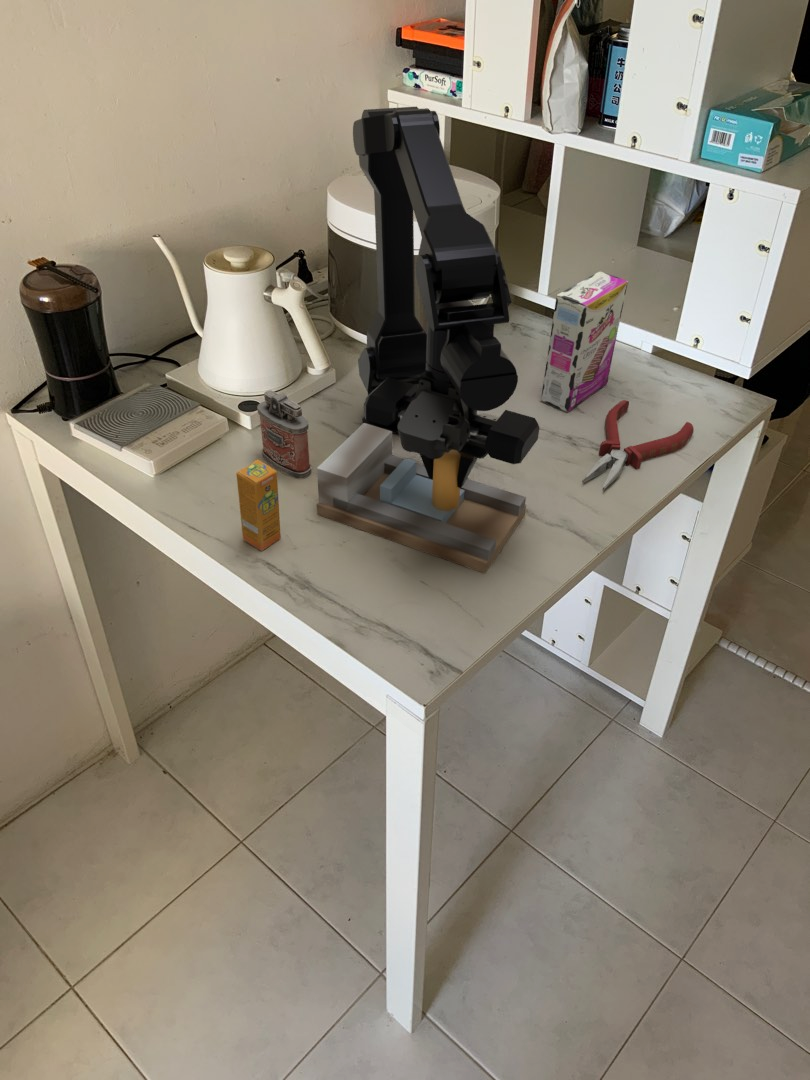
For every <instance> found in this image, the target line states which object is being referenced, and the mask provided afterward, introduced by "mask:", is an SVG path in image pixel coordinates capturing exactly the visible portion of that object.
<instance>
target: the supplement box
mask: <svg viewBox="0 0 810 1080" xmlns="http://www.w3.org/2000/svg"><path fill="white" fill-rule="evenodd" d="M235 476H236V481H237V482H236V483H237V491H238V503H239V512H240V513H239V514H240V520H241V522H240V523H241V532H242V539H243V540H244V541H245V542H246V543H248V544H249V545H251V546H253V547H254V548H255V549H258V550H260V551H264V550H266V549H267V548H269V547H271V545H273V544H274V543H276V542H277V541H278V540H280V539H281V520H280V505H279V502H280V501H279V488H278V470H277V469H275V468H274V467H271V465H269V464H267V463H265V462H263V461H261V460H260V459H256V460H254V461H253V463H250V464H249V465H247V466H245V467H244V468H240V469H238V470H237V471H236V475H235Z"/></svg>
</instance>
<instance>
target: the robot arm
mask: <svg viewBox="0 0 810 1080" xmlns="http://www.w3.org/2000/svg"><path fill="white" fill-rule="evenodd" d="M440 133H441V127H440V119H439V115H438V113H437V111H435V110H430V108H427V107H426V108H419V107H418V106H407V107H406V106H405V107H404V106H401V107H388V108H387V107H385V108H372V109H363V111H362V114H361V118H359V119H357V120H355V121H354V122H353V125H352V141H353V148H354V152H355V154H356V156H358V163H359V167H360V169H361V171H362V173H363V175H364V176H365V177H366V179H367V181H368V182H369V184H370V185H371V187H372V189H373V195H374V196H373V197H374V217H375V218H374V219H375V220H374V221H375V223H374V226H375V246H376V247H375V249H376V255H375V256H376V277H377V280H376V281H377V304H378V305H377V312H376V314H375V316H374V317H373V319H372V321H371V323H370V324H369V326H368V328H367V329H366V347H364V348H363V349H362V351H361V353H360V355H359V357H358V360H357V365H358V366H357V367H358V375H359V377H360V379H361V381H362V384H363V386H364V388H365V391H366V392H367V396H366V398H365V400H364V403H363V416H364V417H363V418H362V421H361V423H362V424H363V423H366V424H369V425H373V426H376V427H379V428H383V429H386V430H389V431H392V434H397V435H398V436H399V440H400V444H401V448H402V449H403V451H405V452H409V453H416V454H418V455H419V456H420V459H421V461H422V464H423V465H424V466H425V469H426V471H427V474H428V476H429V478H430V479H433V466H434V459H438V458H440V457H442V456H443V455H444V453H445V452H447V453H449V451H450V450H457V451H458V452H459V454H460V455H461V456H460V463H459V470H458V477H457V486H458V488H461V487H462V486H463V485H464V483H465V481H466V480H467V479H469V478H468V477H469V476H470V474H471V472H472V470H473V469H474V466H475V464H476V462H477V460H478V459H485V457H487V455H488V456H489V458H491V459H495V460H498V461H501V462H505V463H508V464H511V465H518V464H521V463H522V461H524V459H525V458H526V456H527V455H528V454H529V452H530V450H532V448H533V447H534V446H535V444H536V443H537V441H538V440H539V434H540V425H539V422H538V420H537V419H536V417H533V416H530V415H526V414H522V413H518V412H514V411H511V410H508V409H505V410H504V411H503V412H502V414H501V415H500V416H496V415H493V414H489V413H485V412H488V411H492V410H495V409H497V408H499V407H501V406H503V405H504V404H505V403H506V402H507V401H509V399H511V397H512V396H513V395H514V392H515V391H516V388H517V386H518V381H519V376H518V373H517V369H516V367H515V365H514V364H513V362H512V361H511V359H510V358H509V357H508V355H507V354H506V353H505V351H504V350H503V349H502V343H501V342H500V341H499V339H498V338H497V337H495V335H494V330H495V329H494V328H495V325H500V324H508V323H509V322H510V315H509V306H510V305H511V304H512V298H511V294H510V290H509V285H508V284H509V283H508V280H507V276H506V270H505V266H504V262H503V260H502V259H501V255H500V252H499V250H498V248H495V245H494V244H493V241H492V239H491V237H490V235H489V232H488V231H487V228H486V227H485V225H484V224H483V223H482V222H480V221H479V220H477V219H475V218H474V217H473V216H471V214H469V213H467V211H466V209H465V207H464V204H463V200H462V199H461V195H460V193H459V189H458V187H457V184H456V181H455V179H454V175H453V172H452V169H451V166H450V163H449V161H448V158H447V155H446V151H445V150H444V146H443V144H442V140H441V138H440V135H441V134H440ZM414 216H415V218H416V222H417V225H418V228H419V232H420V235H421V240H420V245H419V249H418V254H417V257H416V262H415V251H414V250H415V246H414V245H415V244H414V243H415V242H414V241H415V239H414V237H415V235H414V230H415V229H414ZM415 277H416V282H417V286H418V291H419V294H420V300H421V303H422V306H423V311H424V315H425V319H426V323H427V324H426V331H425V329H424V328H423V326H422V325H421V323H420V321H419V320H418V319H417V317H416V315H415V313H416V311H415V310H416V309H415ZM489 297H491V300H492V302H491V303H482V304H474V303H472V302H471V301H472V300H473V301H474V300H481V299H483V300H484V299H488V298H489ZM478 412H483V413H479V414H478Z"/></svg>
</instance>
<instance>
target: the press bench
mask: <svg viewBox="0 0 810 1080" xmlns="http://www.w3.org/2000/svg"><path fill="white" fill-rule="evenodd" d="M404 459H405V457H404V458H403V457H401V456H396V455H393V432H392V431H389V430H386V429H383V428H379V427H376V426H373V425H369V424H366V423H362V424H361V425H360V426H358V428H356V429H355V431H354V432H353V433H352V434H350V435H349V437H347V438H346V439H345V440H344V441H343V442H342V443H341V444H340V445H339V446H338V447H337V448H336V449H335V450H334V451H333V452H332V453H331V454H330V455H329V456H328V457H327V458H326V459H325V460H323V462H321V463H320V465H318V466H317V468H316V476H317V492H318V502H317V503H316V512H317V513H316V514H317V516H318V515H319V516H321V517H323V518H324V517H325V518H327V519H330V520H333V521H335V522H338V523H341V524H344V525H347V526H349V527H353V528H355V529H358V530H360V531H363V532H367V533H370V534H372V535H375V536H377V537H381V538H383V539H387V540H389V541H391V542H395V543H398V544H401V545H403V546H405V547H409V548H411V549H414V550H418V551H420V552H423V553H426V554H428V555H431V556H434V557H438V558H440V559H443V560H445V561H449V562H452V563H454V564H458V565H460V566H462V567H465V568H469V569H472V570H475V571H477V572H480V573H483V574H486V573H488V570H489V569H490V567H491V566H492V564H493V563H494V561H495V560H496V558H497V557H498V555H499V553H501V551H502V549H503V548H504V546H505V545H506V543H507V542H508V540H509V539H510V538H511V535H512V534H513V533H514V531H515V530H516V529H517V527H518V525H519V524H520V522H522V519H523V518H524V516H525V515H526V510H527V504H526V499H527V497H526V496H524V495H521V494H518V493H515V492H511V491H508V490H505V489H502V488H499V487H496V486H492V485H490V484H486V483H483V482H480V481H476V480H473V479H471V478H467V480H466V481H465V483H464V485H463V486H462V487H461V488H460V489H462V490H465V492H464V500H463V501H462V503H461V504H460V505H459V507H458V508H457V509H456V510H455V512H454V513H453V514H452V516H451V517H450V518H449V519H448V521H447V522H446V523H443V522H440V521H437V520H434V519H432V518H429V517H426V516H423V515H420V514H417V513H414V512H411V511H408V510H405V509H402V508H399V507H396V506H393V505H390V504H387V503H384V502H381V501H380V485H381V484H382V483H383V482H384V481H385V480H386V479H387V478H388V476H389V475H390V474H391V473H392V472H393V471H394V470H395V469H396V468H397V467H398V465H399V464H400V463H401V462H402V461H403V460H404ZM416 475H418V476H422V477H425V478H428V479H430V478H429V476H428V474H427V471H426V469H425V466H424V464H423V463H419V462H416ZM431 480H433V479H431Z"/></svg>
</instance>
